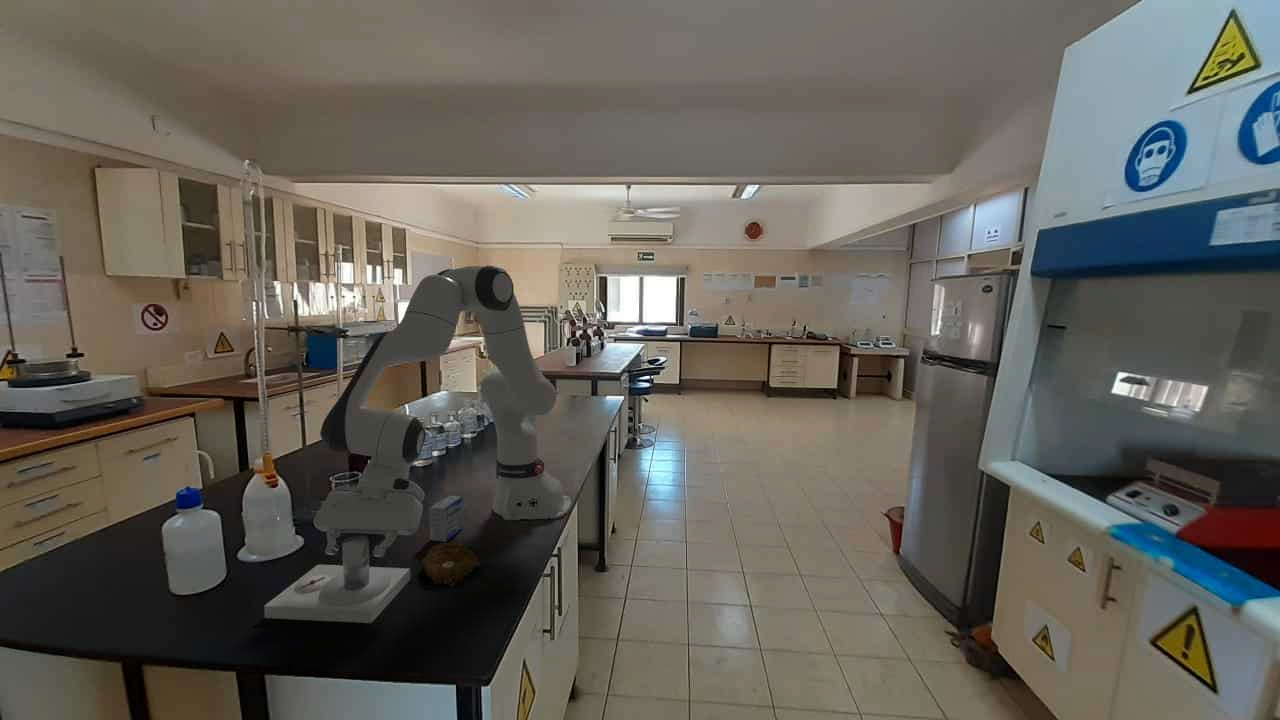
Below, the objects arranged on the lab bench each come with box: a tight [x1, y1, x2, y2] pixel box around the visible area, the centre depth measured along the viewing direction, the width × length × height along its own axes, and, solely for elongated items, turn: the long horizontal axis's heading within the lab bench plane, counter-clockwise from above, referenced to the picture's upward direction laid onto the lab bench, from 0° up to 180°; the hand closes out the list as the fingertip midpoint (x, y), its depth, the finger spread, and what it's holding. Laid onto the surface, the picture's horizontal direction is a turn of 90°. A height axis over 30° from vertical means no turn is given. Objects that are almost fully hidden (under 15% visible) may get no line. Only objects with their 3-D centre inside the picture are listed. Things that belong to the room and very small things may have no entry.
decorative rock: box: [420, 540, 482, 587], centre depth 105 cm, size 11×4×15 cm
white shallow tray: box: [263, 564, 411, 624], centre depth 94 cm, size 20×14×3 cm
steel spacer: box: [341, 534, 370, 590], centre depth 93 cm, size 4×4×9 cm
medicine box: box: [428, 495, 464, 543], centre depth 120 cm, size 8×4×9 cm, turn 168°
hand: (353, 555), depth 92 cm, fingers open, 8 cm apart
